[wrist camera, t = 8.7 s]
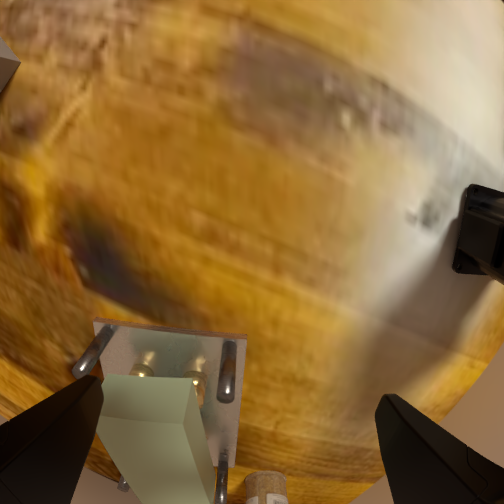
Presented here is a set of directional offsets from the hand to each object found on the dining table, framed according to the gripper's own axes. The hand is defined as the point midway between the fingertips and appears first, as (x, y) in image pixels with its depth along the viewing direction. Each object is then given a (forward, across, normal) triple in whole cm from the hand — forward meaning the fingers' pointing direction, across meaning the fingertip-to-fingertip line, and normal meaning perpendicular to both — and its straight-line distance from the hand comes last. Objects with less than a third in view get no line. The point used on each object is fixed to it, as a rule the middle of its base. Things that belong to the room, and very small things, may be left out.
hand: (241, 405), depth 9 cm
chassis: (+12, +5, +13) cm, 18 cm away
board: (+8, +5, +13) cm, 16 cm away
